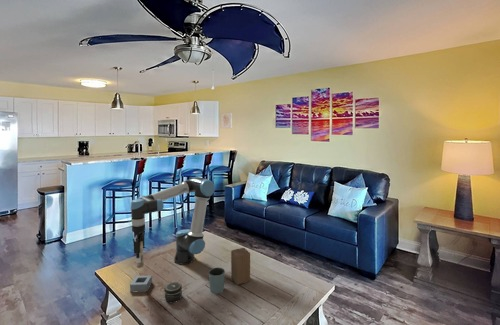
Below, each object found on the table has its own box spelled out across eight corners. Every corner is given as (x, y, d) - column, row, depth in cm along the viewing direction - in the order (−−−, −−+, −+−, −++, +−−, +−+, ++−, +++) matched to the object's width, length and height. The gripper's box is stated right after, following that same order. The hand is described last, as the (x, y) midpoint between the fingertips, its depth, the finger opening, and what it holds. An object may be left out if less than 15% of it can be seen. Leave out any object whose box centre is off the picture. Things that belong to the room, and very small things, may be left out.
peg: (144, 264, 170) (143, 240, 168) (142, 267, 166) (141, 243, 164) (138, 264, 170) (137, 240, 168) (135, 267, 166) (134, 243, 164)
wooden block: (237, 285, 172) (236, 256, 170) (230, 278, 181) (230, 249, 179) (250, 281, 177) (250, 252, 174) (244, 274, 186) (244, 246, 183)
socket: (152, 282, 175) (151, 275, 175) (146, 291, 165) (146, 284, 165) (136, 283, 175) (136, 275, 174) (130, 292, 165) (129, 284, 164)
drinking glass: (211, 295, 162) (210, 277, 160) (207, 286, 171) (206, 269, 169) (227, 291, 166) (227, 273, 164) (222, 283, 175) (222, 265, 173)
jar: (168, 292, 165) (168, 280, 164) (184, 293, 164) (184, 281, 163) (161, 303, 155) (161, 290, 154) (178, 304, 154) (178, 291, 153)
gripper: (137, 220, 173) (138, 254, 176) (126, 229, 156) (128, 267, 159) (149, 219, 174) (150, 254, 176) (139, 229, 157) (141, 267, 159)
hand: (139, 260), depth 168 cm, fingers closed on peg, 4 cm apart
